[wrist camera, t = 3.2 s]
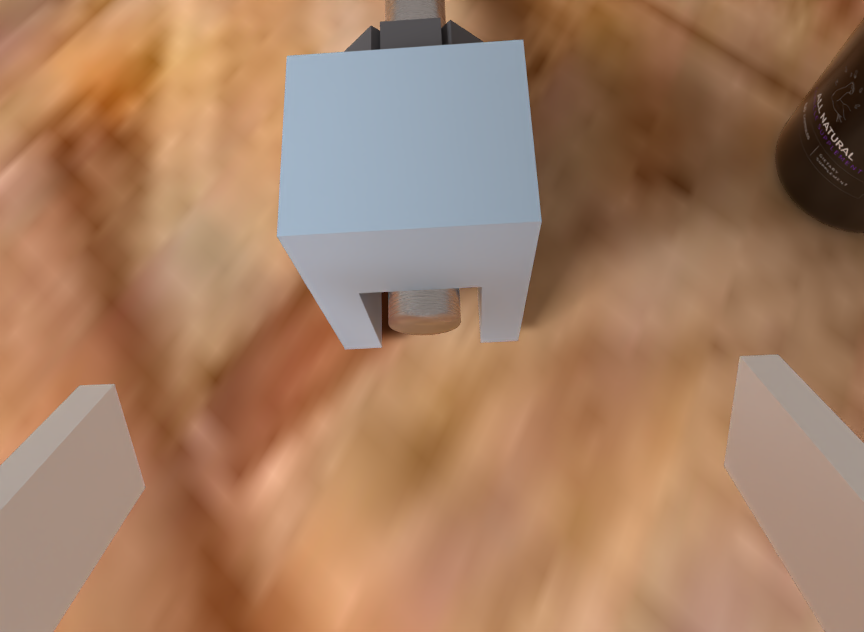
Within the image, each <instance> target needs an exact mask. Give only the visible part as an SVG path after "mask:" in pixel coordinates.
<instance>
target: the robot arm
mask: <svg viewBox="0 0 864 632" xmlns="http://www.w3.org/2000/svg"><path fill="white" fill-rule="evenodd" d="M724 467H725V469H726V470H727V472H728V474H729V475H730V477H731V479H732V480H733V482H734V483H735V485H736V487H737V488H738V490H739V492H740V493H741V495H742V497H743V498H744V500H745V502H746V503H747V505H748V506H749V508H750V510H751V511H752V513H753V515H754V516H755V518H756V520H757V521H758V523H759V525H760V526H761V528H762V529H763V531H764V533H765V534H766V536H767V538H768V539H769V541H770V543H771V544H772V546H773V548H774V549H775V551H776V553H777V554H778V556H779V557H780V559H781V561H782V562H783V564H784V566H785V567H786V569H787V571H788V572H789V574H790V576H791V577H792V579H793V580H794V582H795V584H796V585H797V587H798V589H799V590H800V592H801V594H802V595H803V597H804V599H805V600H806V602H807V603H808V605H809V607H810V608H811V610H812V612H813V613H814V615H815V617H816V618H817V620H818V622H819V623H820V625H821V627H822V628H823V630H824V631H825V632H864V443H863V442H862V441H861V440H860V439H859V438H858V437H857V436H856V435H855V434H854V433H853V432H852V431H851V430H850V429H849V427H848V426H847V425H846V424H845V423H844V422H843V421H842V420H841V419H840V418H839V417H838V416H837V415H836V414H835V413H834V412H833V411H832V410H831V409H830V408H829V407H828V406H827V405H826V404H825V403H824V402H823V401H822V400H821V398H820V397H819V396H818V395H817V394H816V393H815V392H814V391H813V390H812V389H811V388H810V387H809V386H808V385H807V384H806V383H805V382H804V381H803V380H802V379H801V378H800V377H799V376H798V375H797V374H796V373H795V372H794V371H793V369H792V368H791V367H790V366H789V365H788V364H787V363H786V362H785V361H784V360H783V359H782V358H781V357H780V356H779V355H778V354H777V355H754V356H740V358H739V365H738V372H737V379H736V386H735V392H734V399H733V406H732V413H731V420H730V427H729V434H728V441H727V448H726V455H725V462H724ZM144 489H145V484H144V481H143V478H142V474H141V471H140V468H139V464H138V461H137V458H136V454H135V451H134V448H133V444H132V441H131V438H130V434H129V431H128V428H127V424H126V421H125V418H124V414H123V411H122V408H121V404H120V401H119V398H118V394H117V391H116V388H115V384H104V385H81V386H79V387H78V388H77V389H76V390H75V391H74V392H73V393H72V394H71V395H70V396H69V397H68V398H67V399H66V400H65V401H64V402H63V403H62V404H61V405H60V406H59V407H58V408H57V409H56V410H55V411H54V412H53V413H52V414H51V415H50V416H49V417H48V418H47V419H46V420H45V421H44V422H43V423H42V424H41V425H40V426H39V427H38V428H37V429H36V430H35V431H34V432H33V433H32V434H31V435H30V436H29V437H28V438H27V439H26V440H25V441H24V442H23V443H22V444H21V445H20V446H19V447H18V448H17V449H16V450H15V451H14V452H13V453H12V454H11V455H10V456H9V457H8V458H7V459H6V460H5V461H4V462H3V463H2V464H1V465H0V632H53V631H54V630H55V628H56V627H57V625H58V624H59V622H60V620H61V619H62V617H63V616H64V614H65V613H66V611H67V610H68V608H69V606H70V605H71V603H72V602H73V600H74V599H75V597H76V595H77V594H78V592H79V591H80V589H81V588H82V586H83V584H84V583H85V581H86V580H87V578H88V577H89V575H90V573H91V572H92V570H93V569H94V567H95V566H96V564H97V563H98V561H99V559H100V558H101V556H102V555H103V553H104V552H105V550H106V548H107V547H108V545H109V544H110V542H111V541H112V539H113V537H114V536H115V534H116V533H117V531H118V530H119V528H120V527H121V525H122V523H123V522H124V520H125V519H126V517H127V516H128V514H129V512H130V511H131V509H132V508H133V506H134V505H135V503H136V501H137V500H138V498H139V497H140V495H141V494H142V492H143V490H144Z"/></svg>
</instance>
